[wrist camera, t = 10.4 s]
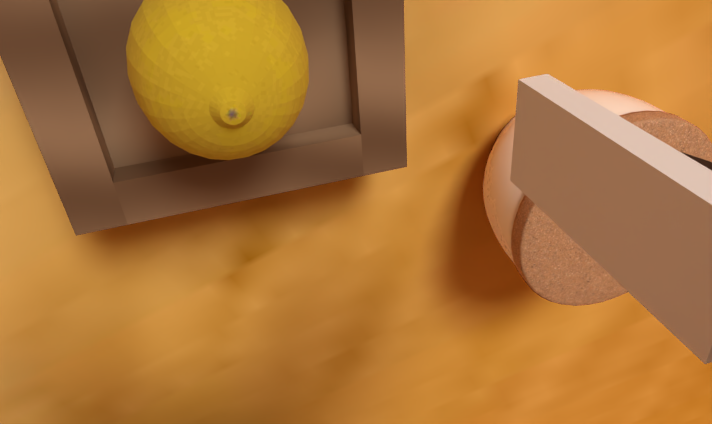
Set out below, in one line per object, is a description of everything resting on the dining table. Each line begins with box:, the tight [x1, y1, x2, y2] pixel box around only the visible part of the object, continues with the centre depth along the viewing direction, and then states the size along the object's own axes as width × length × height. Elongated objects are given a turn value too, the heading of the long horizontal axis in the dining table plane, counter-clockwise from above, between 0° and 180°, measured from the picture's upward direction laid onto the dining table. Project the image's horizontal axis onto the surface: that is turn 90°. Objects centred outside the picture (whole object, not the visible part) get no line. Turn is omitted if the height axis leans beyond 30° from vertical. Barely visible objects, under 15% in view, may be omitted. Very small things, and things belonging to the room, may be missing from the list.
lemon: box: [126, 0, 309, 160], centre depth 19 cm, size 6×6×8 cm
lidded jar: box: [483, 89, 712, 306], centre depth 31 cm, size 11×11×9 cm
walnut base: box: [0, 0, 407, 235], centre depth 23 cm, size 14×14×5 cm
